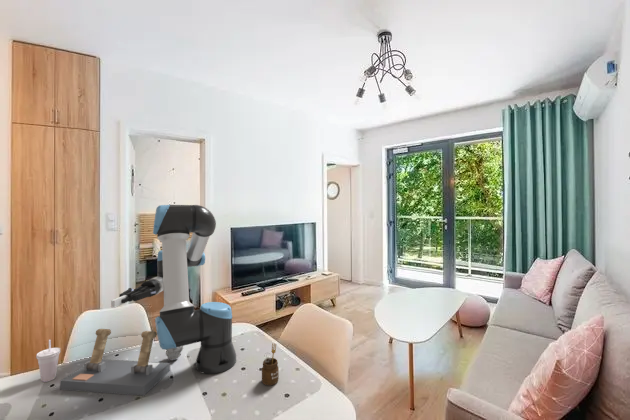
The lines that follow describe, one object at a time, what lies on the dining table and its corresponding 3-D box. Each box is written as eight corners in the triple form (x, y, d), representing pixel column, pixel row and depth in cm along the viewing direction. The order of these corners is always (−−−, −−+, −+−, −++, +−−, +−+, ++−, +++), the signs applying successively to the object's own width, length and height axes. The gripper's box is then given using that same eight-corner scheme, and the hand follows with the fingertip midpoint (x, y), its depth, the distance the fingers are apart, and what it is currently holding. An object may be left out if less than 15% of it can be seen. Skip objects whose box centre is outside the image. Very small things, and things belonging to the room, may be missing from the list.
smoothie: (45, 385, 98) (45, 344, 98) (31, 383, 100) (30, 343, 99) (65, 374, 105) (65, 336, 104) (51, 372, 106) (51, 334, 106)
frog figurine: (179, 363, 112) (179, 346, 112) (161, 363, 113) (161, 345, 113) (186, 355, 118) (186, 338, 118) (170, 355, 119) (170, 338, 119)
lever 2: (150, 372, 101) (158, 331, 106) (145, 373, 99) (154, 331, 103) (136, 371, 102) (144, 330, 106) (131, 372, 100) (140, 331, 104)
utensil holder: (258, 384, 99) (258, 350, 99) (267, 374, 105) (267, 342, 105) (273, 387, 98) (274, 352, 97) (281, 377, 104) (281, 344, 103)
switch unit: (169, 370, 107) (169, 356, 107) (144, 395, 93) (144, 378, 93) (96, 366, 110) (96, 352, 110) (60, 389, 96) (60, 373, 96)
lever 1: (103, 369, 103) (113, 329, 107) (98, 370, 101) (108, 329, 105) (89, 368, 103) (100, 328, 108) (83, 369, 101) (95, 328, 106)
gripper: (166, 295, 134) (128, 314, 110) (140, 294, 135) (97, 312, 111) (166, 279, 133) (128, 295, 110) (140, 278, 135) (97, 293, 111)
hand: (113, 304), depth 111 cm, fingers closed
